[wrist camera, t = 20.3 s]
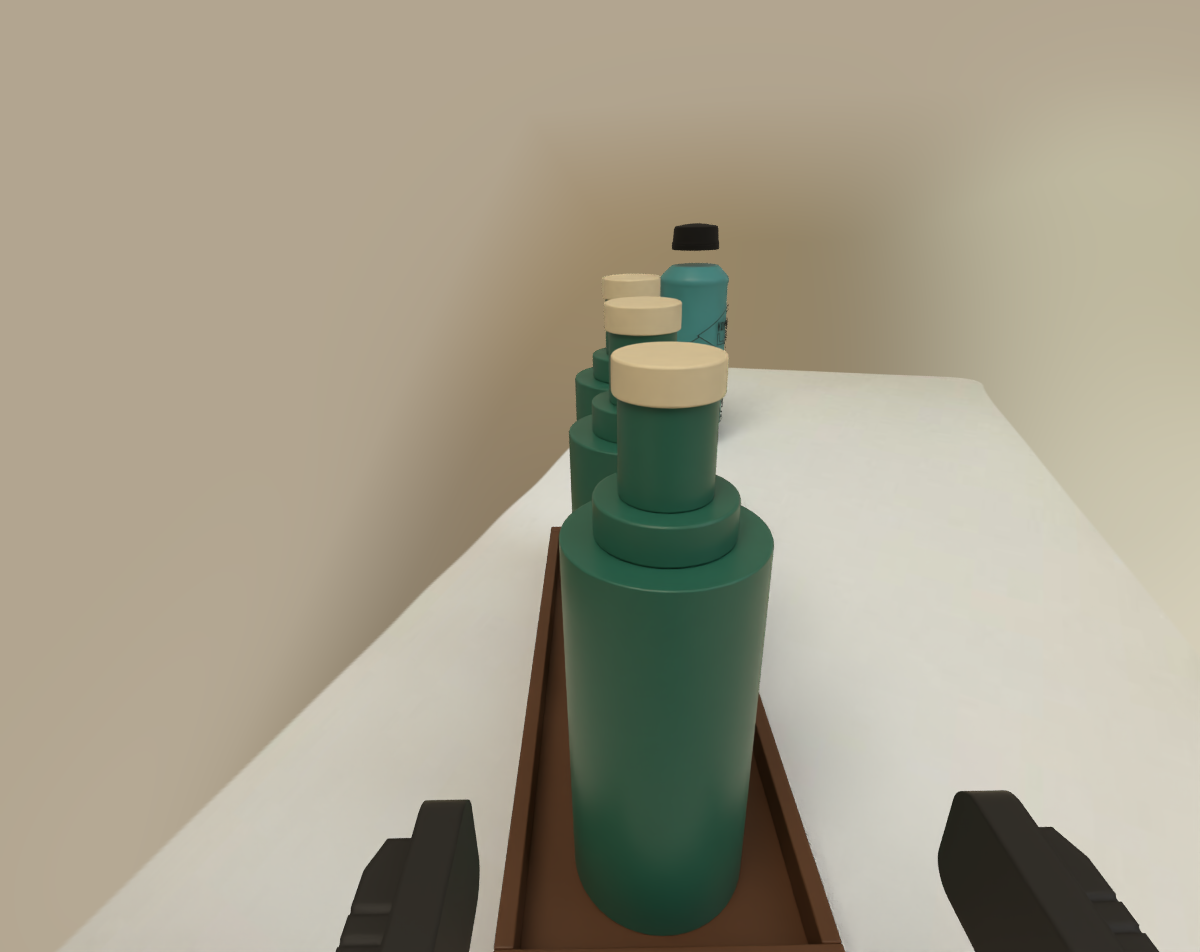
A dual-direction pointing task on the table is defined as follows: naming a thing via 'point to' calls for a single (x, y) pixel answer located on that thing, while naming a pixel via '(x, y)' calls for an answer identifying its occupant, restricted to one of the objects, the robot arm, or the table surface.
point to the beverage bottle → (698, 288)
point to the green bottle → (663, 650)
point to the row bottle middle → (599, 430)
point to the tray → (547, 855)
